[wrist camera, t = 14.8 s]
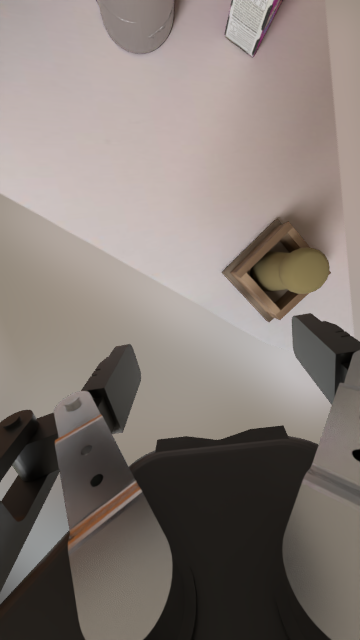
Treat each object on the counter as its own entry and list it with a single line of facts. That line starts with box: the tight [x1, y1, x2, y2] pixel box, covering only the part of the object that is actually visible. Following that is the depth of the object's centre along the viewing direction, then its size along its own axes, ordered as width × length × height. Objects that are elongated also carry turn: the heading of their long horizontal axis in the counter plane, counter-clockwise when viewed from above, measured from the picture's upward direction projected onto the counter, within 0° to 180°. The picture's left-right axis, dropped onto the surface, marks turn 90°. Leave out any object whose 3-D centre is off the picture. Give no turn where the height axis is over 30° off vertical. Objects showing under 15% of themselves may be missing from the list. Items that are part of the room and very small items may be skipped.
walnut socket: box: [222, 219, 331, 322], centre depth 35 cm, size 11×11×4 cm
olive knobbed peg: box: [250, 248, 329, 294], centre depth 31 cm, size 6×6×11 cm
